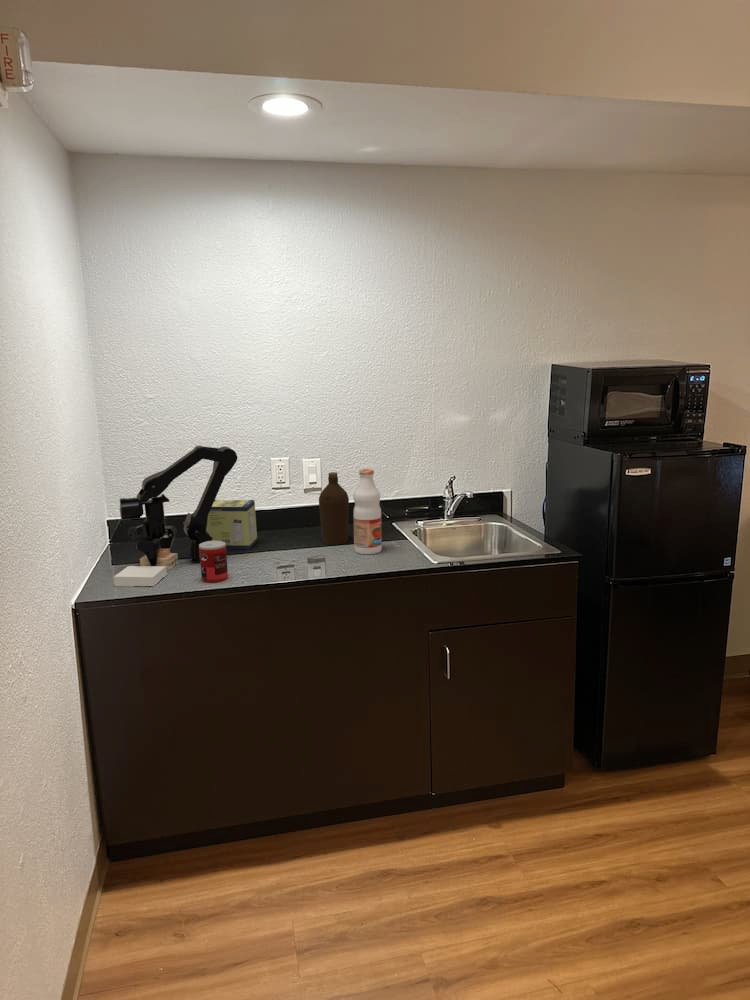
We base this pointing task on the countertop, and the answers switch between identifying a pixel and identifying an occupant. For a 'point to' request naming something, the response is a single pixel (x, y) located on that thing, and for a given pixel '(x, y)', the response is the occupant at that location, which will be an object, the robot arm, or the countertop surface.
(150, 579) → the white flat block
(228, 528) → the protein box
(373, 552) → the fruit juice
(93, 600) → the countertop surface
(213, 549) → the canned food
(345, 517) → the olive oil
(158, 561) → the pallet
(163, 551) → the block
